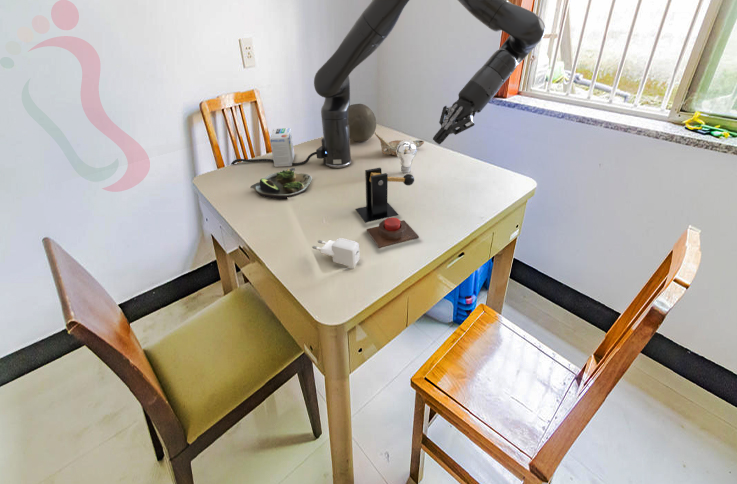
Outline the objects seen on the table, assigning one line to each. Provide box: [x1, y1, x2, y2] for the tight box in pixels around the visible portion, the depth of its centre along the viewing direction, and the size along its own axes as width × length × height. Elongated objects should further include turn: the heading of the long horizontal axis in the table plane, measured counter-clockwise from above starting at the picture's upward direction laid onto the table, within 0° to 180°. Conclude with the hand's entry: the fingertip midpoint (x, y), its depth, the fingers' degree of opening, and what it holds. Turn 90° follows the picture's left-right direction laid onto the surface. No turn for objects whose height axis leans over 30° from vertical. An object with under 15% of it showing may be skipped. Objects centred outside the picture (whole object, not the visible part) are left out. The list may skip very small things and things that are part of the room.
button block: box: [366, 219, 420, 249], centre depth 97 cm, size 11×8×4 cm
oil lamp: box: [374, 131, 425, 157], centre depth 142 cm, size 9×21×10 cm, turn 115°
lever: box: [369, 173, 415, 187], centre depth 103 cm, size 13×3×3 cm, turn 113°
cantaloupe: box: [348, 103, 377, 143], centre depth 151 cm, size 14×14×15 cm
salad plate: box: [250, 167, 313, 200], centre depth 123 cm, size 19×18×5 cm
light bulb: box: [396, 139, 418, 174], centre depth 126 cm, size 7×7×12 cm
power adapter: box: [311, 237, 361, 270], centre depth 89 cm, size 11×5×6 cm, turn 66°
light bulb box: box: [269, 127, 295, 168], centre depth 138 cm, size 11×7×11 cm, turn 5°
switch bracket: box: [355, 167, 400, 224], centre depth 103 cm, size 10×8×13 cm
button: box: [384, 216, 401, 231], centre depth 95 cm, size 4×4×2 cm
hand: (435, 141), depth 101 cm, fingers closed
